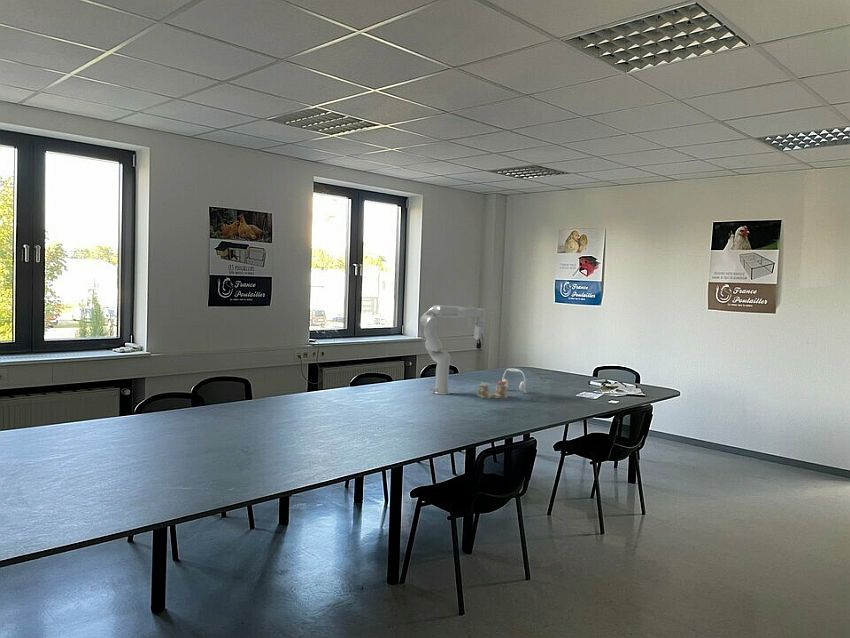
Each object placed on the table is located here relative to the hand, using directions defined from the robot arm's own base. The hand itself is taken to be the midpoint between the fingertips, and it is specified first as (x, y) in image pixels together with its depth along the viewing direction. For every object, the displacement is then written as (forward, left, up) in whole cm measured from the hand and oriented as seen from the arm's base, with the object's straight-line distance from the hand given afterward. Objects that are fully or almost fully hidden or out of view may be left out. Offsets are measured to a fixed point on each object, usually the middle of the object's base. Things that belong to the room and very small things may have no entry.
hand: (478, 348), depth 483 cm
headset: (+30, 0, -33) cm, 45 cm away
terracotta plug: (+11, -20, -30) cm, 38 cm away
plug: (-3, -20, -31) cm, 37 cm away
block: (+4, -20, -33) cm, 39 cm away
